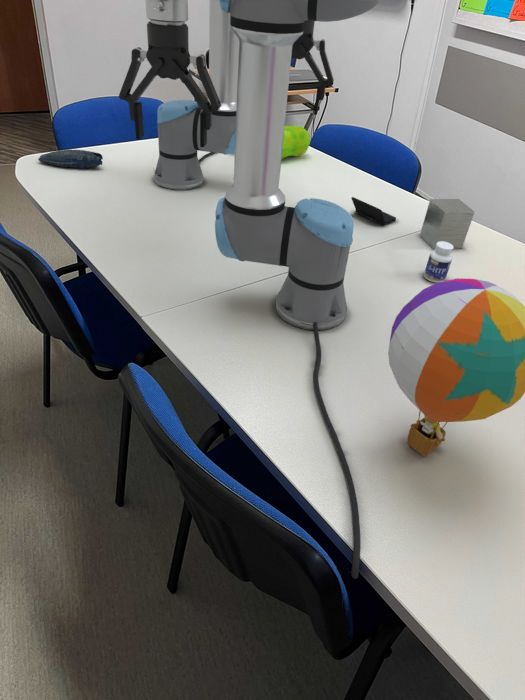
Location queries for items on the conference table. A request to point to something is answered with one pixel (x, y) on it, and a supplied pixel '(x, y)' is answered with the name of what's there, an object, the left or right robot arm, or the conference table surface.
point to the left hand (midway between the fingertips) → (171, 141)
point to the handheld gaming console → (372, 212)
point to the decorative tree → (295, 141)
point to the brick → (446, 222)
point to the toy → (458, 355)
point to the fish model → (72, 158)
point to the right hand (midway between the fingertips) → (289, 110)
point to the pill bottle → (439, 262)
